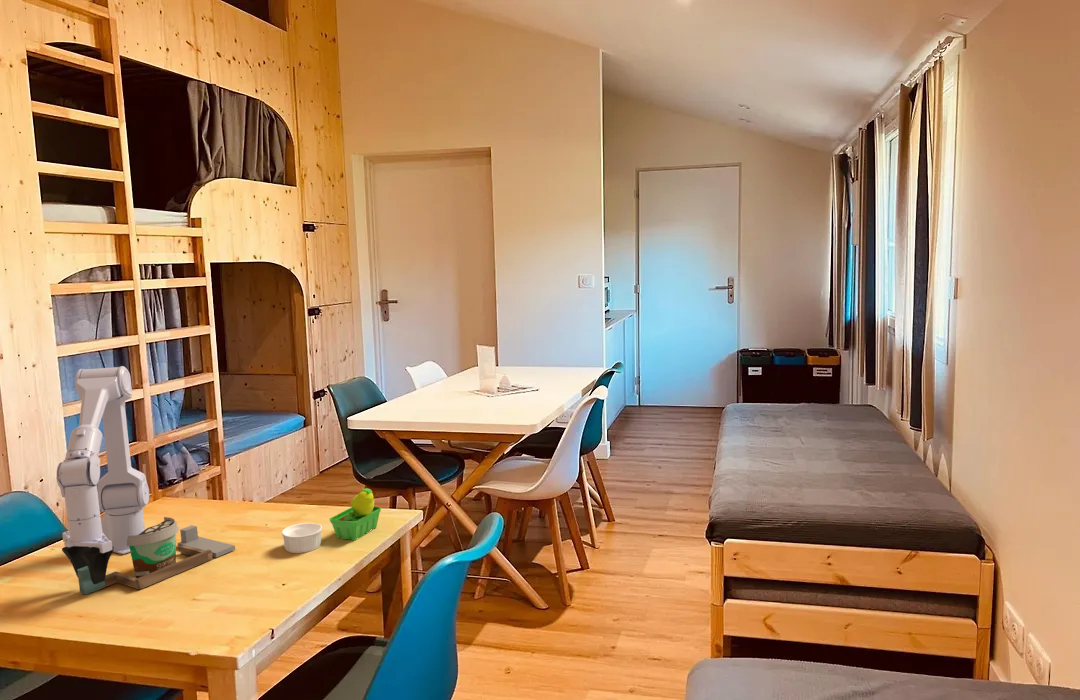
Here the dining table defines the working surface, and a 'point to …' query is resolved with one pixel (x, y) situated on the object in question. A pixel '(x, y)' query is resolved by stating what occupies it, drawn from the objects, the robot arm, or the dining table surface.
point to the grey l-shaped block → (203, 542)
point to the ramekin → (302, 537)
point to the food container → (154, 547)
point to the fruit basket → (357, 517)
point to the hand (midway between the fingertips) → (91, 579)
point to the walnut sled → (149, 579)
